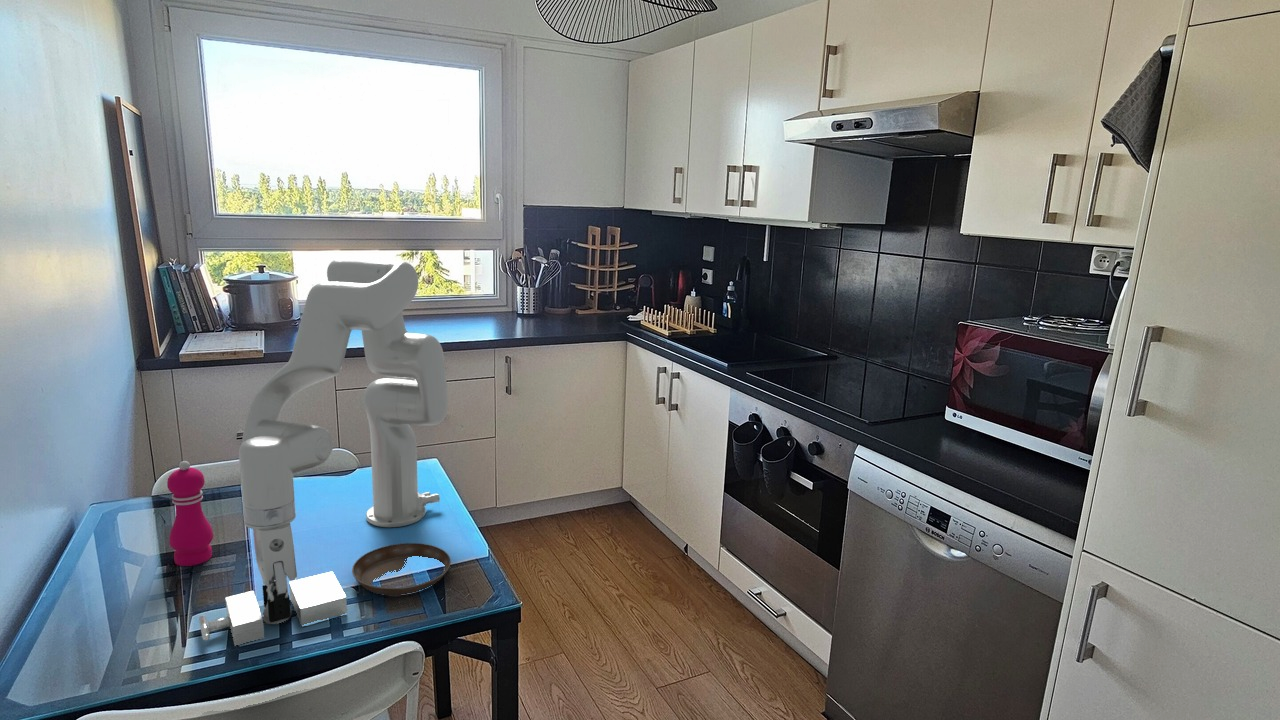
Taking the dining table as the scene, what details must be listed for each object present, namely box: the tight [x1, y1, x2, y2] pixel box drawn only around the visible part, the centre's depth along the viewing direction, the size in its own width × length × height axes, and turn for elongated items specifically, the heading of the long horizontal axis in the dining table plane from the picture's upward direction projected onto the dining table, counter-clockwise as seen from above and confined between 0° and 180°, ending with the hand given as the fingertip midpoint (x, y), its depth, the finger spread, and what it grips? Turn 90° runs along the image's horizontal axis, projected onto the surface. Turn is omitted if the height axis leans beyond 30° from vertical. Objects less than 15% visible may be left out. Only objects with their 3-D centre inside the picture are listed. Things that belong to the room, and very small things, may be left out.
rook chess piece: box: [262, 578, 293, 625], centre depth 122 cm, size 4×4×8 cm
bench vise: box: [198, 571, 348, 647], centre depth 123 cm, size 21×10×4 cm, turn 125°
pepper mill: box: [166, 460, 214, 567], centre depth 139 cm, size 7×7×20 cm
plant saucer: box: [351, 542, 452, 595], centre depth 138 cm, size 18×18×3 cm
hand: (277, 611), depth 123 cm, fingers closed on rook chess piece, 4 cm apart
